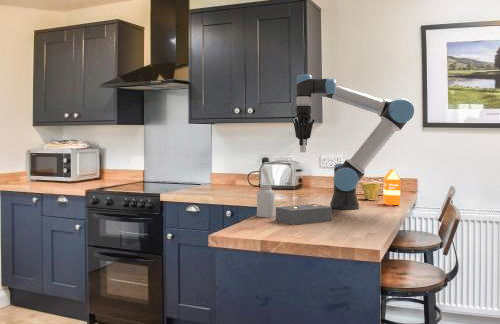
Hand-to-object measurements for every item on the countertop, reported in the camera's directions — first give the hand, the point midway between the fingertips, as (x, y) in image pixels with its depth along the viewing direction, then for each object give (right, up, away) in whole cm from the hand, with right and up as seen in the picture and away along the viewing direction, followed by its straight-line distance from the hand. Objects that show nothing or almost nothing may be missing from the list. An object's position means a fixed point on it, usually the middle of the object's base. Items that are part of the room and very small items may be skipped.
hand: (302, 152), depth 247 cm
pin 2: (+2, -30, -29) cm, 42 cm away
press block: (-3, -31, -33) cm, 45 cm away
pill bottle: (-20, -30, -22) cm, 42 cm away
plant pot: (+46, -28, +46) cm, 71 cm away
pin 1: (-8, -30, -36) cm, 48 cm away
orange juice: (+52, -29, +25) cm, 65 cm away
